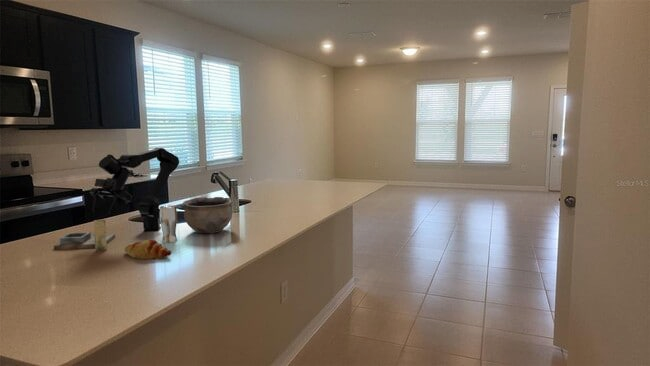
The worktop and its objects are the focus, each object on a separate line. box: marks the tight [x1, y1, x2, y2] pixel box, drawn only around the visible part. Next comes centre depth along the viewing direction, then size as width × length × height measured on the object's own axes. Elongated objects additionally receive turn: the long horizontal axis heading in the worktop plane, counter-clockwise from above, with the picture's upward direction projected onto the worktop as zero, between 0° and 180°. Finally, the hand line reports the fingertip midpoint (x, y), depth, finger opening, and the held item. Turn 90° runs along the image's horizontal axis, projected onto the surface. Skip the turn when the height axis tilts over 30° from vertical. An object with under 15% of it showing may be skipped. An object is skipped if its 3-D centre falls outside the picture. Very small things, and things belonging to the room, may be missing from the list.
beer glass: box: [159, 205, 178, 244], centre depth 177 cm, size 7×7×15 cm
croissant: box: [124, 238, 172, 260], centre depth 158 cm, size 21×10×8 cm, turn 73°
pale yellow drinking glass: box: [93, 219, 108, 253], centre depth 164 cm, size 4×4×12 cm
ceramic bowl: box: [182, 196, 233, 234], centre depth 194 cm, size 22×22×15 cm
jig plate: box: [53, 231, 116, 250], centre depth 175 cm, size 18×16×4 cm
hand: (101, 212), depth 172 cm, fingers open, 9 cm apart
